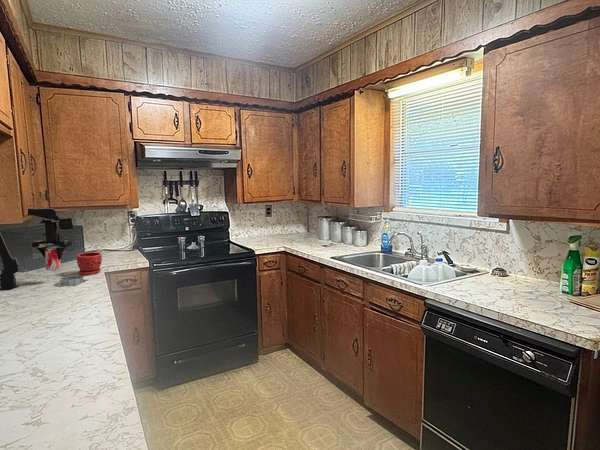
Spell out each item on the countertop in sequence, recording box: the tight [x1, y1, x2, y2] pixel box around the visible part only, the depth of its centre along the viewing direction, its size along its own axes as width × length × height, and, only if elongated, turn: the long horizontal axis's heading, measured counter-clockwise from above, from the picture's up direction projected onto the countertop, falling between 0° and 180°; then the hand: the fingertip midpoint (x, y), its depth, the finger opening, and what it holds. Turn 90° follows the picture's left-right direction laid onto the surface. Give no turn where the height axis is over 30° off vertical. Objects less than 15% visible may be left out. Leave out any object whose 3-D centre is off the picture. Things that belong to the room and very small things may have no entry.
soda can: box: [44, 246, 62, 271], centre depth 201 cm, size 7×7×12 cm
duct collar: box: [55, 274, 89, 287], centre depth 201 cm, size 11×11×3 cm
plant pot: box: [76, 251, 103, 276], centre depth 222 cm, size 13×13×12 cm
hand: (53, 259), depth 201 cm, fingers closed on soda can, 7 cm apart
